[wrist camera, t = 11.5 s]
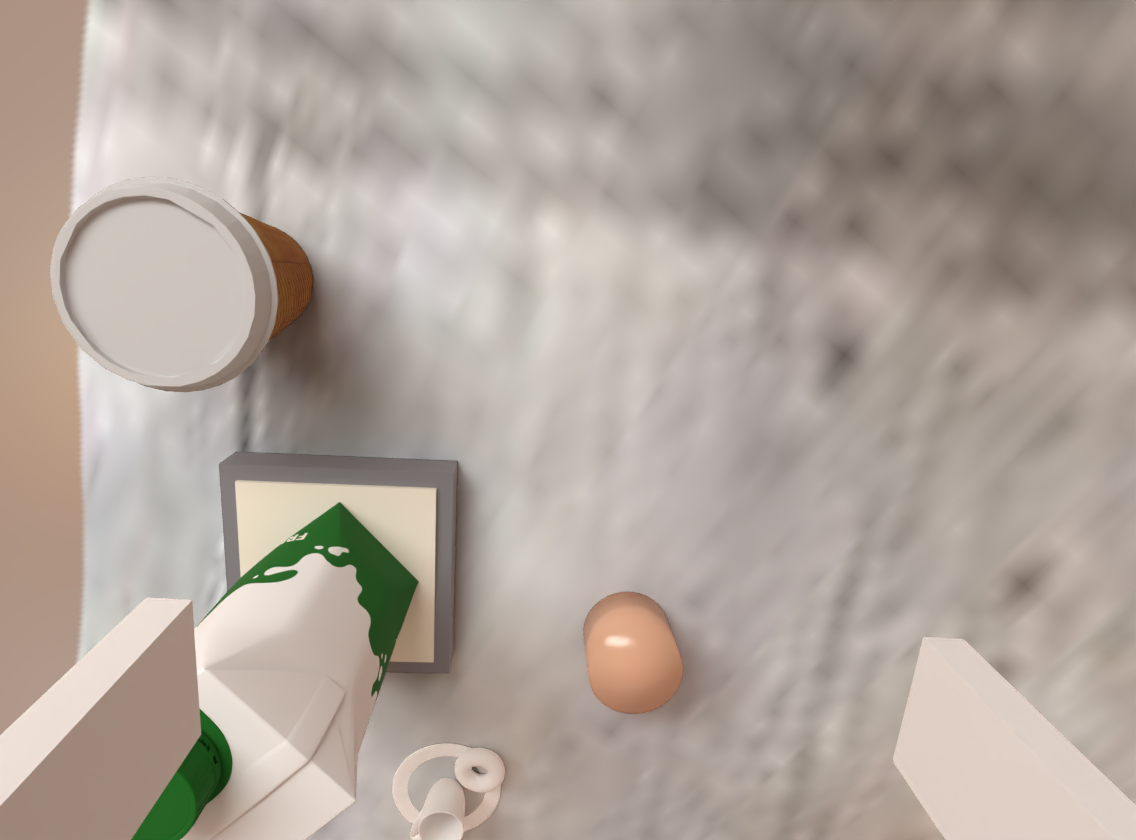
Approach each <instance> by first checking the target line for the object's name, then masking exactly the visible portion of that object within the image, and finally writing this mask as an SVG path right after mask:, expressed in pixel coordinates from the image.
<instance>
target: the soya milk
mask: <svg viewBox="0 0 1136 840" xmlns="http://www.w3.org/2000/svg"><path fill="white" fill-rule="evenodd" d="M418 582H419V581H418V580H417V579H416V578H415V577H414V576H413V575H412V574H411V573H410V572H409V571H408V570H407V569H406V568H405V567H404V566H403V565H402V564H401V563H400V562H399V561H398V560H397V559H396V558H395V557H394V556H393V555H392V554H391V553H390V552H389V551H388V550H387V549H386V548H385V547H384V546H383V545H382V544H381V543H380V542H379V541H378V540H377V539H376V538H375V537H374V536H373V535H372V534H371V533H370V532H369V531H368V530H367V529H366V528H365V527H364V526H363V525H362V524H361V523H360V522H359V521H358V520H357V519H356V518H355V517H354V516H353V515H352V514H351V513H350V512H349V511H348V510H347V509H346V508H345V507H344V506H343V505H342V504H341V503H340V502H339V503H337V504H336V505H335V506H333V507H332V508H330V509H329V510H328V511H326V512H325V513H323V514H322V515H320V516H319V517H318V518H316V519H315V520H313V521H312V522H311V523H309V524H308V525H306V526H305V527H304V528H302V529H301V530H299V531H298V532H297V533H295V534H294V535H292V536H291V537H290V538H288V539H287V540H285V541H284V542H283V543H281V544H280V545H279V546H277V547H276V548H275V549H274V550H272V551H271V552H270V553H269V554H267V555H266V556H265V557H264V558H263V559H261V560H260V561H259V562H258V563H257V564H256V565H254V566H253V567H252V568H251V569H250V570H249V571H248V572H246V573H245V574H244V575H243V576H242V577H241V578H240V579H239V580H238V581H237V582H236V583H235V584H234V585H233V586H232V587H231V588H230V589H229V591H228V592H227V593H226V594H225V595H224V596H223V597H222V598H221V600H220V601H219V602H218V603H217V604H216V605H215V606H214V608H213V609H212V610H211V611H210V612H209V613H208V614H207V615H206V617H205V618H204V619H203V620H202V621H201V622H200V623H199V625H198V626H197V627H196V628H195V629H194V636H195V651H196V665H197V680H198V694H199V709H200V723H201V735H200V737H199V738H198V740H197V741H196V743H195V744H194V746H193V747H192V749H191V750H190V752H189V753H188V755H187V756H186V758H185V759H184V761H183V762H182V764H181V765H180V767H179V768H178V770H177V771H176V773H175V774H174V776H173V777H172V779H171V780H170V782H169V783H168V785H167V786H166V788H165V789H164V791H163V792H162V794H161V795H160V797H159V798H158V800H157V801H156V803H155V804H154V806H153V807H152V809H151V810H150V812H149V813H148V815H147V816H146V818H145V819H144V821H143V822H142V824H141V825H140V827H139V828H138V830H137V831H136V833H135V834H134V836H133V837H132V839H131V840H305V839H307V838H308V837H309V836H311V835H312V834H313V833H315V832H316V831H317V830H319V829H320V828H321V827H322V826H324V825H325V824H326V823H328V822H329V821H330V820H332V819H333V818H334V817H336V816H337V815H338V814H339V813H341V812H342V811H343V810H345V809H346V808H347V807H349V806H350V805H351V804H352V803H354V802H355V801H356V780H357V759H358V752H359V749H360V746H361V743H362V740H363V737H364V734H365V732H366V729H367V726H368V723H369V720H370V717H371V714H372V711H373V708H374V705H375V702H376V699H377V696H378V694H379V691H380V688H381V685H382V682H383V679H384V676H385V673H386V670H387V667H388V664H389V661H390V659H391V656H392V653H393V650H394V647H395V644H396V642H397V639H398V636H399V634H400V631H401V628H402V625H403V623H404V620H405V617H406V614H407V611H408V609H409V606H410V603H411V601H412V598H413V595H414V592H415V590H416V587H417V584H418Z"/></svg>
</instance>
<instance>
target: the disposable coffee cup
mask: <svg viewBox="0 0 1136 840" xmlns="http://www.w3.org/2000/svg"><path fill="white" fill-rule="evenodd" d="M50 276H51V285H52V294H53V298H54V301H55V304H56V306H57V309H58V311H59V314H60V317H61V319H62V322H63V324H64V325H65V326H66V328H67V330H68V331H69V332H70V334H71V335H72V337H73V338H74V339H75V341H76V342H77V343H78V345H79V346H80V348H81V349H82V350H83V351H85V352H86V353H87V354H88V355H89V356H91V357H92V358H93V359H94V360H95V361H97V362H98V363H99V364H100V365H101V366H103V367H104V368H105V369H107V370H109V371H111V372H113V373H115V374H117V375H119V376H121V377H123V378H125V379H127V380H130V381H134V382H137V383H139V384H141V385H144V386H147V387H151V388H155V389H159V390H164V391H174V392H192V391H199V390H205V389H209V388H212V387H215V386H219V385H221V384H223V383H225V382H227V381H229V380H231V379H233V378H235V377H237V376H238V375H239V374H241V373H242V372H243V371H245V370H246V369H247V368H248V367H249V366H250V365H251V364H252V363H253V362H254V361H255V360H256V359H257V357H258V356H259V354H260V353H261V351H262V350H263V349H264V347H265V346H266V344H267V343H268V341H269V340H270V339H272V338H273V337H274V336H276V335H277V334H278V333H279V332H280V331H282V330H283V329H284V328H286V327H287V326H288V325H289V324H290V323H292V322H293V321H295V320H296V319H297V318H298V317H299V316H300V315H301V314H302V313H303V311H304V310H305V309H306V307H307V305H308V303H309V301H310V298H311V293H312V288H313V276H312V270H311V266H310V264H309V261H308V259H307V257H306V255H305V253H304V251H303V250H302V248H301V247H300V246H299V245H298V244H297V243H296V241H295V240H294V239H292V238H291V237H290V236H289V235H287V234H286V233H285V232H283V231H281V230H279V229H277V228H275V227H272V226H270V225H267V224H265V223H263V222H260V221H258V220H256V219H254V218H251V217H249V216H247V215H244V214H242V213H240V212H238V211H237V210H236V209H235V208H233V207H232V206H231V205H230V204H229V203H227V202H226V201H225V200H223V199H221V198H220V197H218V196H216V195H214V194H213V193H211V192H209V191H208V190H206V189H204V188H202V187H199V186H197V185H194V184H191V183H188V182H184V181H181V180H177V179H173V178H164V177H141V178H134V179H128V180H125V181H122V182H119V183H116V184H114V185H111V186H109V187H107V188H105V189H104V190H102V191H100V192H98V193H97V194H95V195H94V196H93V197H92V198H90V199H89V200H88V201H87V202H86V203H84V204H83V205H81V206H80V207H79V208H78V209H77V210H76V211H75V212H74V213H73V215H72V216H71V217H70V218H69V219H68V220H67V221H66V223H65V224H64V226H63V228H62V229H61V231H60V233H59V235H58V237H57V239H56V242H55V246H54V249H53V252H52V259H51V267H50Z"/></svg>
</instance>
